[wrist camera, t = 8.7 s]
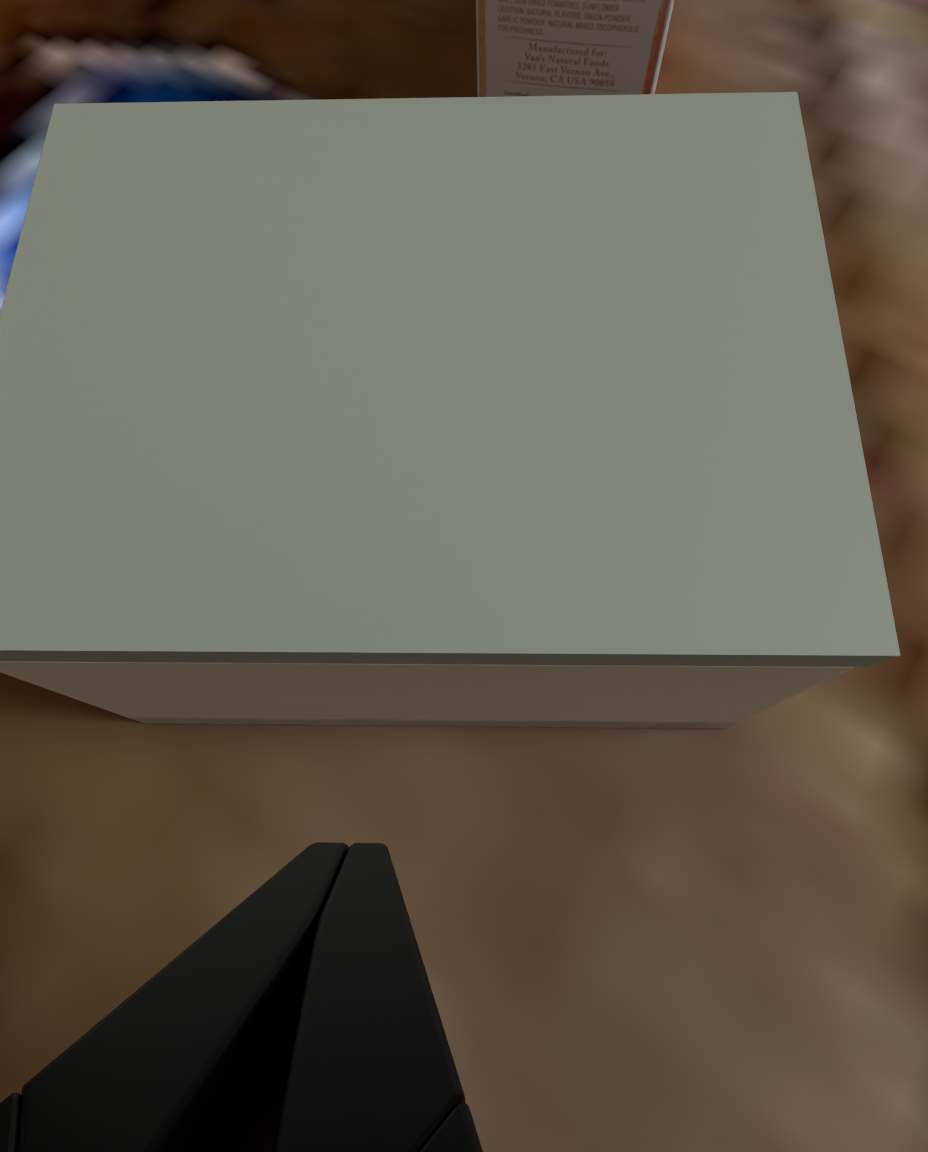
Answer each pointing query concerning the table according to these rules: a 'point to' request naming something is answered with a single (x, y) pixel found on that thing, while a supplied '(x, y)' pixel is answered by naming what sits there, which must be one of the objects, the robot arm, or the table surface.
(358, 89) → the table surface
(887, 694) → the table surface
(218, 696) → the chest
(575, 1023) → the table surface
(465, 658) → the chest lid
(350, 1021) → the robot arm
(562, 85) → the cracker box
